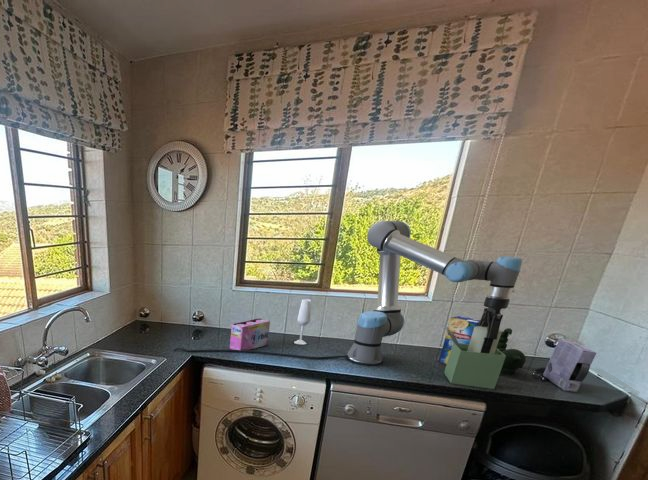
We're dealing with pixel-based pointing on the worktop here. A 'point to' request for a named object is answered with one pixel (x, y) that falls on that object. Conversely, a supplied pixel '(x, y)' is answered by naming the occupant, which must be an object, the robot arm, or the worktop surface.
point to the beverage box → (458, 334)
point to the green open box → (473, 367)
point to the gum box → (249, 334)
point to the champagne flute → (304, 317)
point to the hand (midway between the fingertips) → (480, 351)
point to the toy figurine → (510, 354)
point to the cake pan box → (569, 365)
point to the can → (481, 340)
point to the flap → (453, 338)
